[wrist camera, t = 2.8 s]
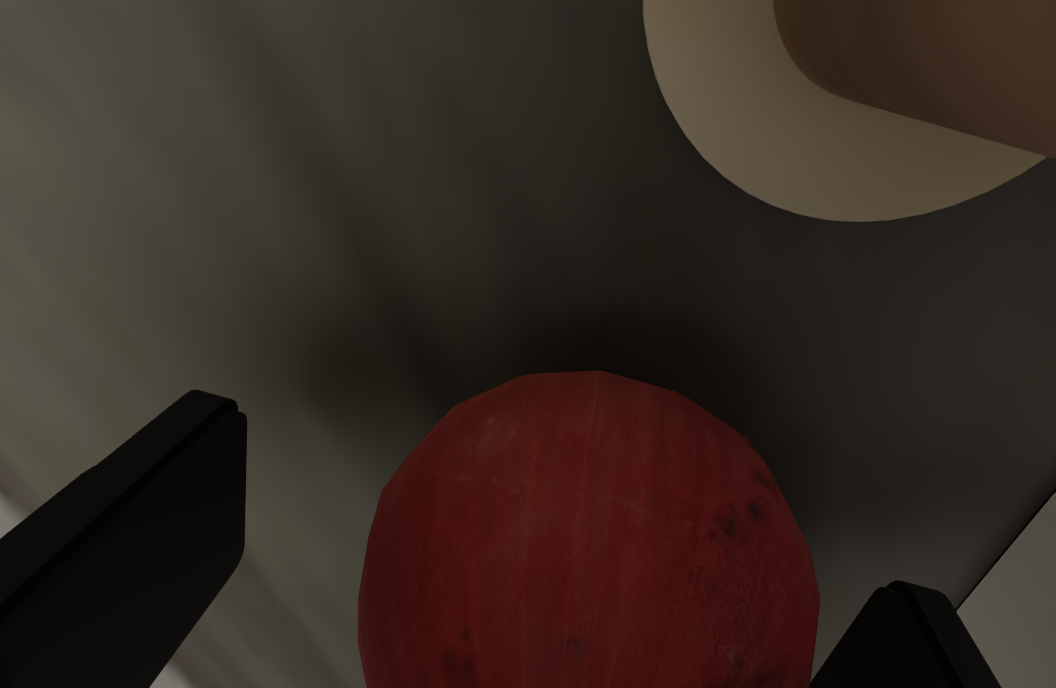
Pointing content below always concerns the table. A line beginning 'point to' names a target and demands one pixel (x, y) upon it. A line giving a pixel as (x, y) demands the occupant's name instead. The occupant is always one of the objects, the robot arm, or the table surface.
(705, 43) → the spool
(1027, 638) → the notched board
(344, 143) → the table surface
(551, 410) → the pomegranate
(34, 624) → the robot arm
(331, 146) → the table surface
